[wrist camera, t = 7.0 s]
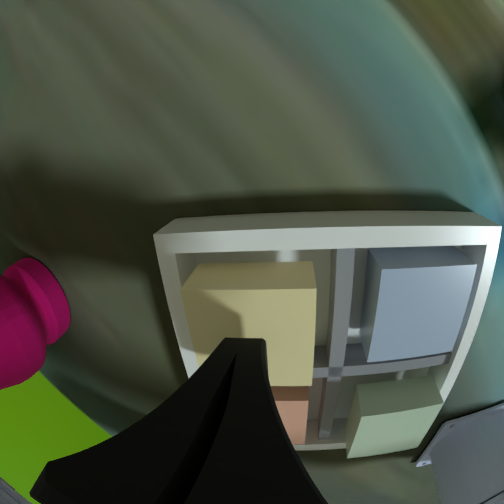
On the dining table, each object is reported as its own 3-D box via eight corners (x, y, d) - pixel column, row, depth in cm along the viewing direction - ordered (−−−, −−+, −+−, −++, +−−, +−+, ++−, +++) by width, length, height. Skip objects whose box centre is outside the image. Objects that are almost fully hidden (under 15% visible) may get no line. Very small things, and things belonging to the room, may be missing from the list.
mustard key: (312, 260, 11) (316, 288, 9) (310, 351, 13) (311, 385, 10) (198, 263, 12) (180, 289, 10) (214, 349, 13) (202, 382, 11)
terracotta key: (308, 370, 15) (308, 400, 13) (304, 417, 16) (304, 444, 14) (226, 369, 15) (218, 397, 13) (236, 415, 17) (230, 441, 15)
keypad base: (474, 211, 11) (501, 226, 9) (417, 411, 16) (424, 435, 14) (175, 218, 13) (153, 234, 11) (219, 419, 18) (212, 445, 16)
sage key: (431, 374, 12) (444, 403, 10) (410, 421, 14) (417, 447, 12) (356, 384, 13) (361, 416, 11) (344, 430, 15) (346, 458, 13)
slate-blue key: (453, 245, 11) (476, 264, 9) (436, 325, 13) (451, 351, 11) (367, 248, 12) (381, 269, 10) (358, 332, 13) (367, 362, 11)
